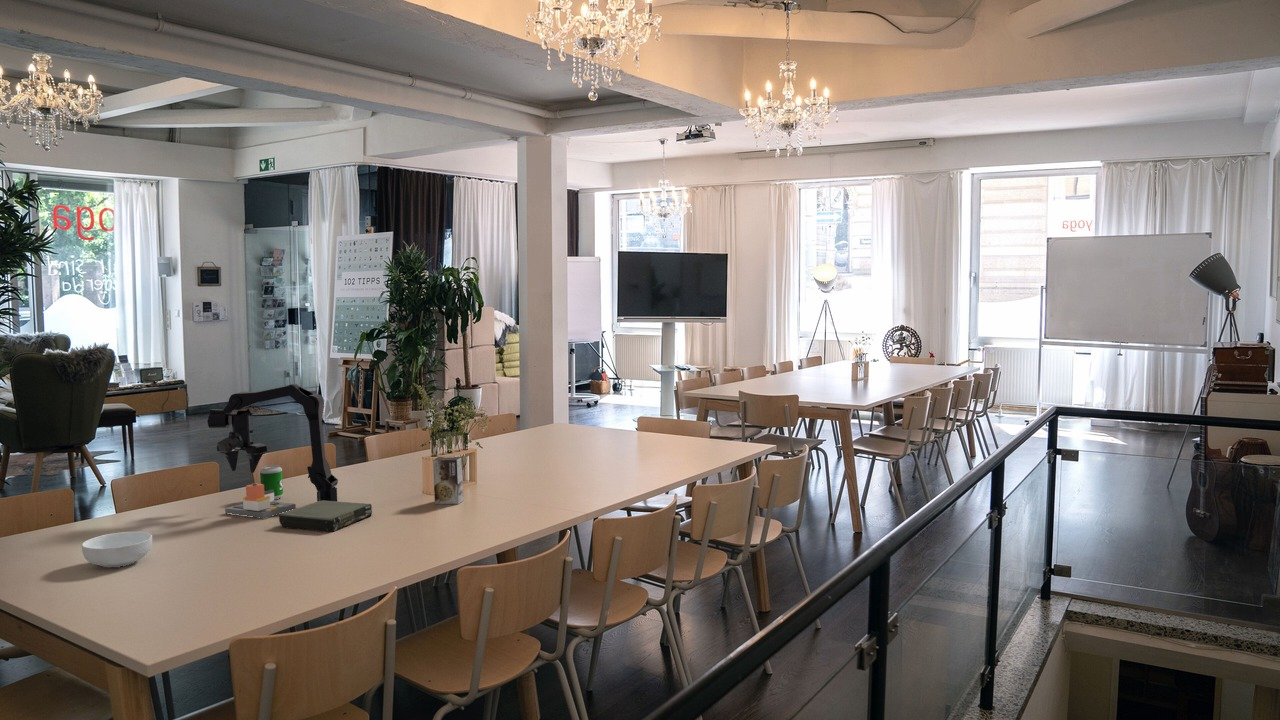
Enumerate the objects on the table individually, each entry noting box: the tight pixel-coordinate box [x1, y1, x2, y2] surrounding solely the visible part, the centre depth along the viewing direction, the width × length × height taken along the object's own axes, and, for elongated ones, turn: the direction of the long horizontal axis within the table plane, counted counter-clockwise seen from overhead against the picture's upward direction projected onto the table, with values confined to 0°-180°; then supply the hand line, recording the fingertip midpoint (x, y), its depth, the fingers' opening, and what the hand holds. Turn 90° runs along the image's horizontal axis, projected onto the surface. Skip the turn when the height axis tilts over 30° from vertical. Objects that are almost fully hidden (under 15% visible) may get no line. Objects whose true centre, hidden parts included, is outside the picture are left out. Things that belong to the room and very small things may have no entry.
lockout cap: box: [245, 482, 264, 501], centre depth 298 cm, size 4×4×6 cm
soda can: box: [259, 465, 284, 500], centre depth 322 cm, size 8×8×12 cm
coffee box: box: [432, 456, 464, 505], centre depth 313 cm, size 9×6×16 cm
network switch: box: [278, 500, 373, 533], centre depth 287 cm, size 23×23×5 cm
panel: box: [224, 500, 296, 519], centre depth 303 cm, size 18×14×2 cm
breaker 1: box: [242, 496, 270, 511], centre depth 298 cm, size 7×5×4 cm
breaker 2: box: [264, 490, 275, 502], centre depth 308 cm, size 7×5×4 cm
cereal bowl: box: [81, 531, 153, 568], centre depth 244 cm, size 17×17×7 cm
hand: (243, 471), depth 308 cm, fingers open, 9 cm apart
